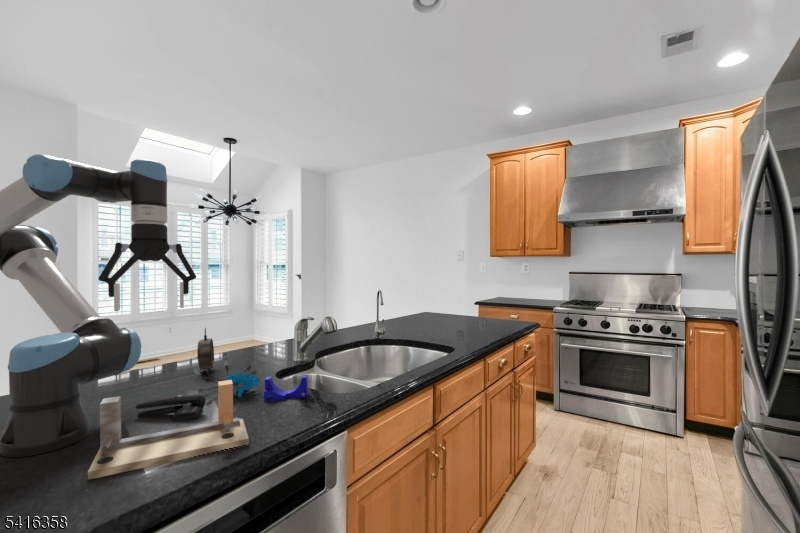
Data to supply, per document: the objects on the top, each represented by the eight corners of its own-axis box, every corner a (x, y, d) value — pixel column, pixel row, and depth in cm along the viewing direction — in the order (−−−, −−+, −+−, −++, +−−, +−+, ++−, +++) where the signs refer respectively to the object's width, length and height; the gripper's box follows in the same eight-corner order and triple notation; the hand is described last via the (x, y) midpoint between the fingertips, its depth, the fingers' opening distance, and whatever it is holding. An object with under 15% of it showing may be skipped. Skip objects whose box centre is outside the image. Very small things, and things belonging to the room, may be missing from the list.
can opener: (211, 411, 104) (210, 390, 104) (197, 421, 97) (197, 399, 97) (145, 411, 104) (145, 391, 104) (127, 422, 97) (127, 400, 97)
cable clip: (263, 401, 111) (263, 381, 111) (266, 396, 115) (266, 376, 115) (306, 399, 112) (306, 379, 112) (307, 394, 117) (307, 374, 117)
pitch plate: (87, 479, 71) (87, 418, 71) (101, 451, 81) (101, 397, 81) (248, 445, 84) (248, 393, 84) (242, 424, 95) (242, 378, 95)
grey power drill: (212, 374, 137) (212, 329, 136) (195, 376, 135) (195, 330, 134) (214, 366, 147) (214, 324, 147) (199, 368, 145) (198, 325, 145)
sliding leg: (220, 433, 84) (219, 391, 84) (218, 420, 91) (217, 381, 91) (235, 430, 86) (234, 389, 85) (231, 417, 93) (231, 379, 93)
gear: (262, 383, 122) (253, 367, 114) (261, 401, 117) (251, 386, 110) (227, 389, 120) (215, 374, 113) (224, 407, 116) (211, 393, 109)
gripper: (82, 220, 86) (83, 314, 86) (206, 224, 98) (206, 307, 98) (90, 223, 93) (91, 310, 93) (205, 227, 104) (206, 304, 105)
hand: (150, 309), depth 95 cm, fingers open, 13 cm apart
